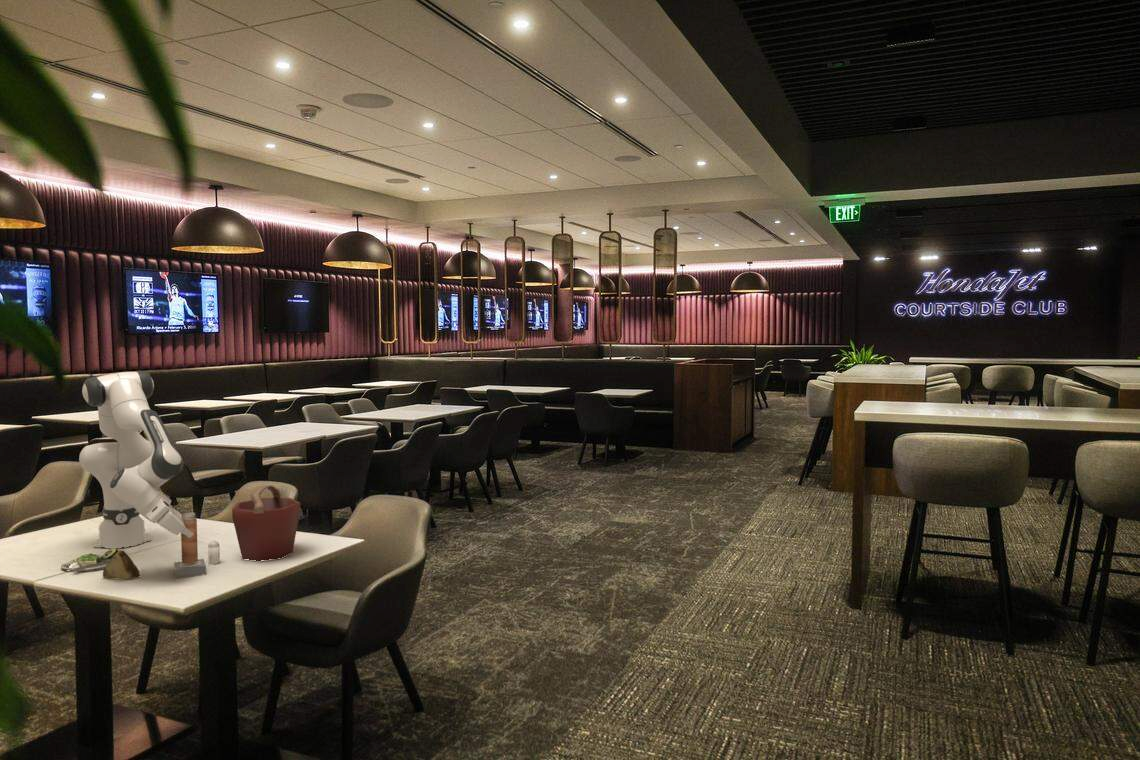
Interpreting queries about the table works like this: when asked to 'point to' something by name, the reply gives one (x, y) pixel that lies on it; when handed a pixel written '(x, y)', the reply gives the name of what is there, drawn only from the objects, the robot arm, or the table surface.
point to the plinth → (189, 568)
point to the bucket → (266, 525)
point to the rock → (121, 567)
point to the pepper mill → (189, 539)
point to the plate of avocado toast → (91, 561)
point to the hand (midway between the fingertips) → (191, 533)
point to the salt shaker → (213, 552)
